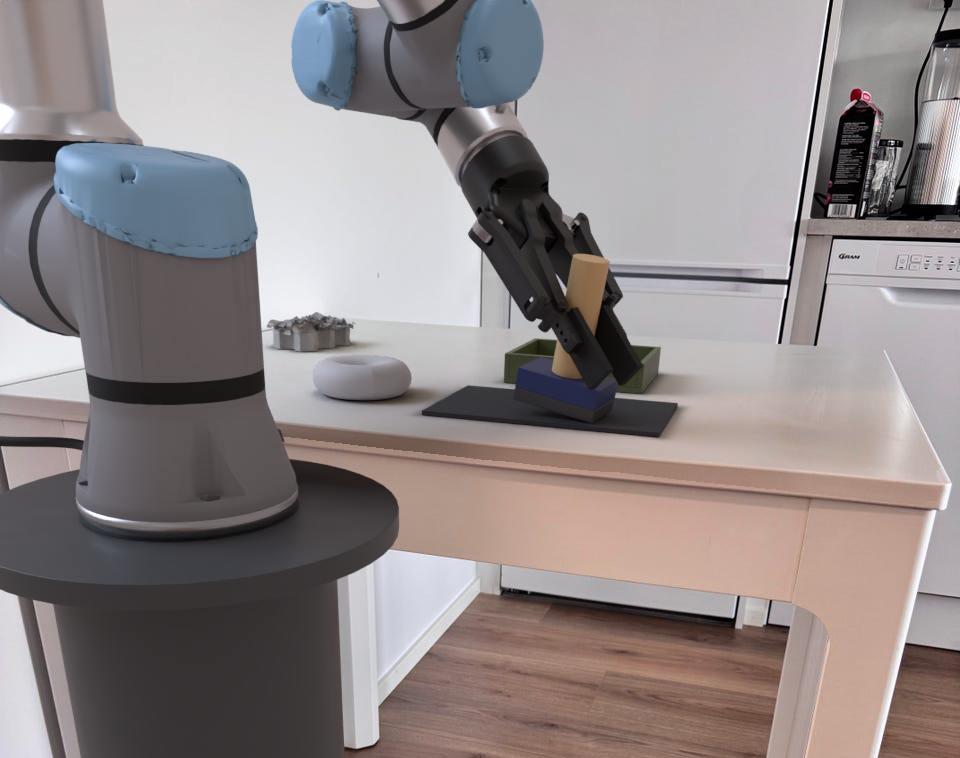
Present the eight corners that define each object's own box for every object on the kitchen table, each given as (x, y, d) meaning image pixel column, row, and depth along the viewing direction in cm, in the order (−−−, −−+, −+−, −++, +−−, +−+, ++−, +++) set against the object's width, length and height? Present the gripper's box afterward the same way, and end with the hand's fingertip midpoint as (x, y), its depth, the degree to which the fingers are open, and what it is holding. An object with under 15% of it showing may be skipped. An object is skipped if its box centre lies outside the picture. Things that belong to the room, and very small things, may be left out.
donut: (378, 383, 103) (294, 389, 97) (378, 350, 101) (293, 354, 96) (430, 398, 96) (344, 407, 90) (431, 363, 94) (343, 369, 89)
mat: (421, 414, 88) (421, 410, 88) (467, 389, 100) (467, 385, 100) (658, 437, 82) (659, 432, 82) (677, 406, 94) (677, 402, 94)
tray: (503, 382, 104) (504, 353, 103) (533, 364, 116) (534, 338, 114) (641, 393, 100) (644, 363, 99) (658, 374, 112) (661, 346, 110)
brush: (512, 399, 87) (537, 250, 80) (535, 387, 91) (560, 244, 84) (592, 424, 85) (624, 272, 78) (611, 410, 88) (644, 265, 81)
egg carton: (305, 354, 119) (303, 319, 117) (262, 347, 123) (260, 314, 121) (360, 344, 127) (359, 312, 125) (319, 338, 131) (317, 307, 129)
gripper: (444, 124, 78) (576, 358, 74) (579, 136, 88) (702, 343, 84) (406, 193, 84) (525, 414, 80) (536, 197, 94) (649, 394, 90)
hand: (616, 377), depth 82 cm, fingers closed on brush, 3 cm apart
